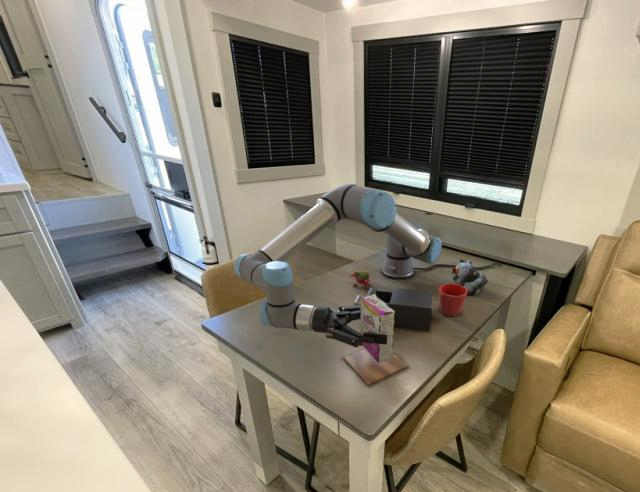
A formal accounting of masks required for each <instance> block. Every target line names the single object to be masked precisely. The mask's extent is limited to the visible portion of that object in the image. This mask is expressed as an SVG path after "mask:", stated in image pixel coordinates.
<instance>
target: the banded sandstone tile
mask: <svg viewBox="0 0 640 492" xmlns="http://www.w3.org/2000/svg"><path fill="white" fill-rule="evenodd" d="M343 359H344V360H345V361H346V362H347V364H348V365H349V366H350V367H351V368H352V370H354V372H356V373H357V374H358V376H359V377H360V378H361V379H362V381H364V383H365V384H366V385H367V386H370V385H372V384H374V383H377V382H379V381H381V380H383V379H386V378H388V377H390V376H392V375H394V374H396V373H398V372H400V371H402V370H405V369H407V368H408V365H407V364H406V363H405V362H404V361H403V360H402V359H401V358H400V357H399V356H397V355H396V354H395V353H394V352H393V351H392V359H389V360H386V361H384V362H381V363H378V362H377V361H376V360H375V359H374V358H373V356H372V355H371V354H370V353H369V352H368V351H367V350H366V349H365V348H363V349H361V350H358V351H355V352H353V353H351V354H348V355H344V356H343Z"/></svg>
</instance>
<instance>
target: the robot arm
mask: <svg viewBox="0 0 640 492" xmlns="http://www.w3.org/2000/svg"><path fill="white" fill-rule="evenodd" d="M396 204H397V202H396V200H395V197H394V196H392V195H391V194H390V193H388V192H386V191H385V190H381V189H375V188H372V187H367V186H362V185H359V184H354V183H347V184H342V185H340V186H337V187H335V188H333V189H331V190H329V191H328V192H326V193H325V194H323V195H322V196H320V197H319V198H318V199H317V200H316V201H315V205H314V206H313V207H311V208H310V209H309V210H308V211H307V212H305V213H304V214H303V215H301V216H300V217H299V218H298V219H296V220H295V221H294V222H292V223H291V224H290V225H289V226H287V227H286V228H284V229H283V230H282V231H281V232H280V233H278V234H277V235H276V236H275V237H273V238H272V239H271V240H269V241H268V242H267V243H266V244H264V245H263V246H262V247H260V248H259V249H258V250H257V251H255V252H254V253H253V254H251V253H250V254H249V253H243V254H241V255H239V256H238V257H237V258H236V259H235V260H234V263H233V270H234V273H235V274H236V275H237V276H238V277H239V278H240V279H242V280H243V281H245V282H247V283H249V284H251V285H253V286H255V287H256V288H258V289H259V290H261V291H262V292H264V293H265V298H266V300H265V301H263V302H262V304H261V305H260V308H259V315H258V317H259V321H260V322H261V324H262V325H264V326H268V327H271V328H272V327H273V328H276V329H277V328H278V329H291V330H297V331H307V332H315V333H321V334H325V338H326V339H330V340H336V341H338V342H340V343H343V344H345V345H348V346H351V347H353V348H358V347H361V346H362V347H363V345H362V342H363V343H371V344H372V343H376V344H384V345H387V335H383V334H375V333H367V332H363V335H362V334H361V332H359V331H357V330H355V329H354V328H352V327H351V326H349V325H348V324H350V323H352V322H354V321H358V320H361V305H358V306H354V305H350V306H346V305H339V306H338V310H337V311H336V310H335V311H333V310H332V309H331V307H329V306H322V305H321V306H319V305H318V306H316V305H314V304H313V305H312V304H304V303H296V297H295V285H294V275H293V270H292V266H291V265H290V263H288V262H287V261H288V260H289V259H291V257H293V256H294V255H295V254H297V252H299V251H300V250H301V249H302V248H303V247H304V246H306V245H307V244H308V243H309V242H311V241H313V239H314V238H316V237H317V236H318V235H320V233H322V232H323V231H324V230H326V228H327V227H329V226H330V225H336V224H337V223H338V222H340V221H341V220H350V221H353V222H356V223H360V224H361V225H364V226H365V227H367V228H369V229H370V230H372V231H374V232H376V233H384V234H385V235H386V254H385V259H384V262H383V264H382V266H381V273H382V275H383V276H385V277H386V278H387V277H388V278H391V279H397V280H401V279H402V280H403V279H408V278H411V277H412V276H413V275H414V271H415V270H417V271H418V270H419V271H428V270H431V269H433V268H435V267H449V268H456V267H457V266H458V264H457V265H456V264H446V263H436V264H434V263H435V262H436V261H437V260H438V258H439V256H440V253H441V251H442V247H443V246H442V245H443V243H442V239H441V238H439V237H438V236H435V235H431V234H430V233H428V232H427V231H426V230H424V229H422V228H417V227H415V226H414V225H413V224H412V223H410V222H409V221H408V220H407V219H406V218H404V217H403V216H402V215H401V214H400V213H399V212H397V211H398V207H397V206H396ZM412 259H415V260H418V261H420V262H423V263H425V264H430V266H429V267H413V262H412ZM495 265H498V266H501V265H502V264H501V263H500V262H499V261H496V262H493V263H492V264H488V265H485V266H475V268H476V270H483V269H487V268H491V267H493V266H495Z"/></svg>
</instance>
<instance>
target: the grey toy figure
mask: <svg viewBox="0 0 640 492" xmlns="http://www.w3.org/2000/svg"><path fill="white" fill-rule="evenodd" d="M475 267H476V266H475V265H474V264H472V261H471V260H467V261H465V260H464V259H460V260H459V262H458V264H457V267H451V279H452V280H453V282H454V284H457V285H461V286H463V287H465V288H466V289H467V295H468V296H474V295H477V294H479V293H480V292H481V290H482V288H483V287H485V286H486V284H488V282H489V280H488V279H487V277H486V275H485V274H484V273H483V272H481V271H478V270H477V269H476V268H475ZM467 295H466V296H467Z"/></svg>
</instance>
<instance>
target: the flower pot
mask: <svg viewBox="0 0 640 492" xmlns="http://www.w3.org/2000/svg"><path fill="white" fill-rule="evenodd" d="M438 294H439V295H438V298H439V310H440V312H441V313H442V314H443V315H445V316H449V317H456V316H459V314H461V311H462V308H463V306H464V303H465V300H466V298H467V289H466V288H465V287H463V286H461V285H457V284H456V283H444V284H442V285H440V286H439V288H438Z"/></svg>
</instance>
